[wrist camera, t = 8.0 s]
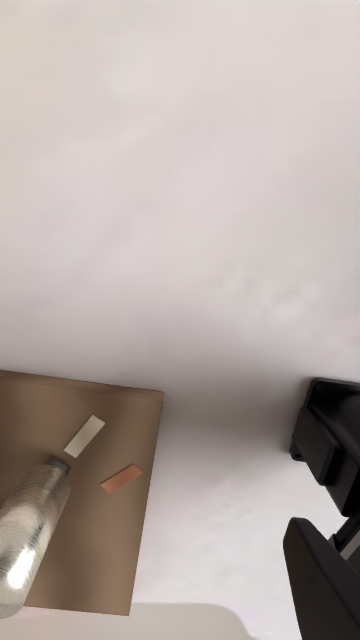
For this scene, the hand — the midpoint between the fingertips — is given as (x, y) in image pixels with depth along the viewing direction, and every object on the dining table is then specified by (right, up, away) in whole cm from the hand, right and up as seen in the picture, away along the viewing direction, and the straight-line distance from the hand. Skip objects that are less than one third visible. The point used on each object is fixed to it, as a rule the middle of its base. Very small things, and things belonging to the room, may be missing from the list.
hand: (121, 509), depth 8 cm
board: (-13, -8, +15) cm, 21 cm away
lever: (-11, -11, +14) cm, 21 cm away
